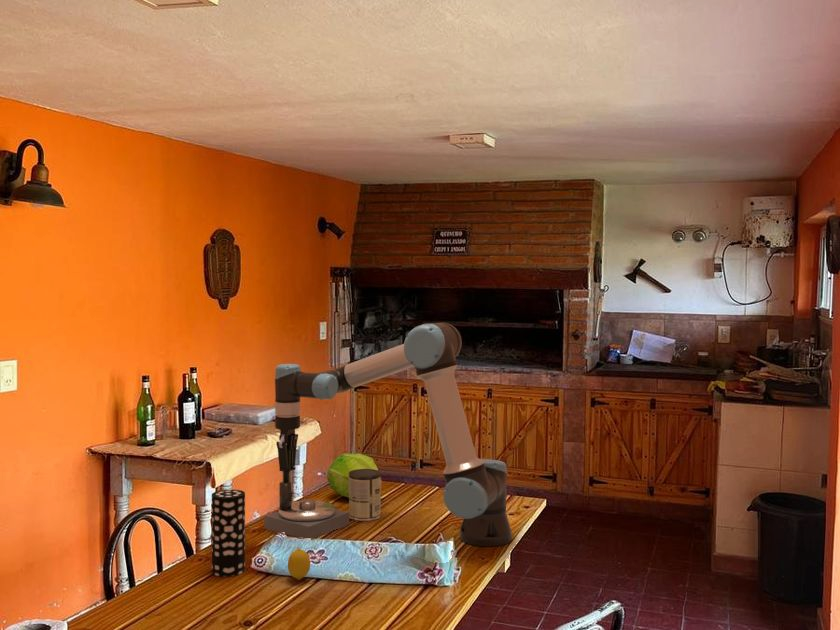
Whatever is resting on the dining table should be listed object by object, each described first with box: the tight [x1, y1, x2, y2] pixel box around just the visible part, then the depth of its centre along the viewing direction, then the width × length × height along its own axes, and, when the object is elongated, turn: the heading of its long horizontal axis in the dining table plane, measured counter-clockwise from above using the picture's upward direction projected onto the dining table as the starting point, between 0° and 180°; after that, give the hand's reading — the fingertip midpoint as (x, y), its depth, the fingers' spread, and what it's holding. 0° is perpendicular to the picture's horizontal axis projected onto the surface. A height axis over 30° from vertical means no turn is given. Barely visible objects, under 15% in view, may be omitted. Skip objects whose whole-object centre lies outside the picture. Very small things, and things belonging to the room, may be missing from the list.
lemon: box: [287, 548, 311, 581], centre depth 201 cm, size 6×6×8 cm
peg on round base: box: [278, 480, 336, 521], centre depth 243 cm, size 17×17×10 cm
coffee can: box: [348, 469, 382, 522], centre depth 255 cm, size 10×10×14 cm
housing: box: [263, 508, 350, 539], centre depth 244 cm, size 18×18×4 cm
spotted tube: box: [211, 489, 246, 577], centre depth 206 cm, size 8×8×20 cm
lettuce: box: [326, 452, 383, 499], centre depth 276 cm, size 17×20×15 cm
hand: (287, 491), depth 246 cm, fingers closed
